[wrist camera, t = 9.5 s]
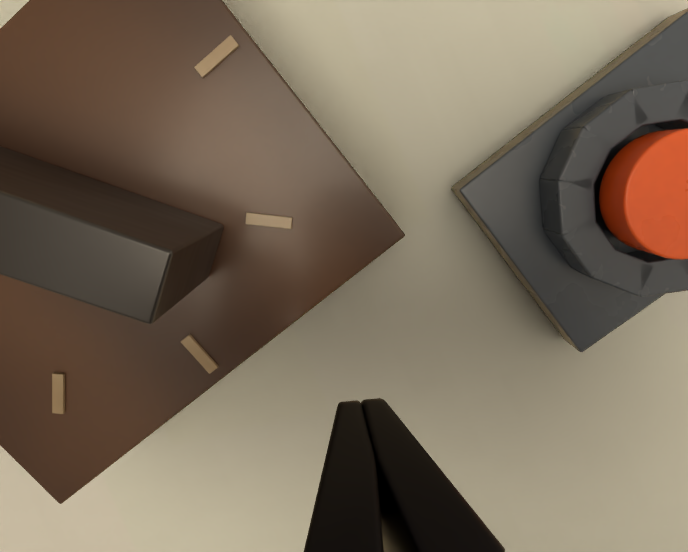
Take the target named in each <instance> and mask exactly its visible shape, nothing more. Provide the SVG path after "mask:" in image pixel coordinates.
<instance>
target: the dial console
mask: <svg viewBox="0 0 688 552" xmlns="http://www.w3.org/2000/svg"><path fill="white" fill-rule="evenodd" d="M0 146H1V147H4V148H7V149H10V150H12V151H15V152H18V153H21V154H24V155H27V156H29V157H32V158H35V159H38V160H41V161H44V162H47V163H49V164H52V165H55V166H58V167H61V168H64V169H66V170H69V171H72V172H75V173H78V174H81V175H84V176H86V177H89V178H92V179H95V180H98V181H101V182H104V183H106V184H109V185H112V186H115V187H118V188H121V189H123V190H126V191H129V192H132V193H135V194H138V195H141V196H143V197H146V198H149V199H152V200H155V201H158V202H160V203H163V204H166V205H169V206H172V207H175V208H178V209H180V210H183V211H186V212H189V213H192V214H195V215H197V216H200V217H203V218H206V219H209V220H212V221H215V222H217V223H220V224H222V225H223V226H224V229H223V232H222V235H221V239H220V242H219V245H218V248H217V251H216V255H215V258H214V261H213V264H212V268H211V271H210V274H209V277H208V278H207V279H206V280H205V281H203V282H202V283H201V284H200V285H199V286H197V287H196V288H195V289H194V290H192V291H191V292H190V293H189V294H188V295H186V296H185V297H184V298H183V299H182V300H180V301H179V302H178V303H177V304H176V305H174V306H173V307H172V308H171V309H169V310H168V311H167V312H166V313H165V314H163V315H162V316H161V317H160V318H159V319H157V320H156V321H155V322H154V323H153V324H147V323H144V322H141V321H138V320H135V319H132V318H129V317H126V316H123V315H120V314H117V313H114V312H111V311H108V310H105V309H102V308H99V307H96V306H93V305H90V304H87V303H84V302H81V301H78V300H75V299H72V298H69V297H66V296H63V295H60V294H58V293H55V292H52V291H49V290H46V289H43V288H40V287H37V286H34V285H31V284H28V283H25V282H22V281H19V280H16V279H13V278H10V277H7V276H4V275H1V274H0V445H1V446H2V447H3V448H4V449H5V450H6V451H7V452H8V453H9V454H10V455H11V456H12V457H13V458H14V459H15V460H16V461H17V462H18V463H19V464H20V465H21V466H22V467H23V468H24V469H25V470H26V471H27V472H28V473H29V474H30V475H31V476H32V477H33V478H34V479H35V480H36V481H37V482H38V483H39V484H40V485H41V486H42V487H43V488H44V489H45V490H46V491H47V492H48V493H49V494H50V495H51V496H52V497H53V498H54V499H55V500H56V501H57V502H59V503H60V504H61V503H63V502H64V501H65V500H67V499H68V498H69V497H71V496H72V495H73V494H74V493H76V492H77V491H78V490H80V489H81V488H82V487H83V486H85V485H86V484H87V483H89V482H90V481H91V480H92V479H94V478H95V477H96V476H98V475H99V474H100V473H101V472H103V471H104V470H105V469H106V468H108V467H109V466H110V465H112V464H113V463H114V462H115V461H117V460H118V459H119V458H121V457H122V456H123V455H124V454H126V453H127V452H128V451H130V450H131V449H132V448H133V447H135V446H136V445H137V444H139V443H140V442H141V441H142V440H144V439H145V438H146V437H148V436H149V435H150V434H151V433H153V432H154V431H155V430H157V429H158V428H159V427H160V426H162V425H163V424H164V423H166V422H167V421H168V420H169V419H171V418H172V417H173V416H174V415H176V414H177V413H178V412H180V411H181V410H182V409H183V408H185V407H186V406H187V405H189V404H190V403H191V402H192V401H194V400H195V399H196V398H198V397H199V396H200V395H201V394H203V393H204V392H205V391H207V390H208V389H209V388H210V387H212V386H213V385H214V384H216V383H217V382H218V381H219V380H221V379H222V378H223V377H225V376H226V375H227V374H228V373H230V372H231V371H232V370H233V369H235V368H236V367H237V366H239V365H240V364H241V363H242V362H244V361H245V360H246V359H248V358H249V357H250V356H251V355H253V354H254V353H255V352H257V351H258V350H259V349H260V348H262V347H263V346H264V345H266V344H267V343H268V342H269V341H271V340H272V339H273V338H275V337H276V336H277V335H278V334H280V333H281V332H282V331H284V330H285V329H286V328H287V327H289V326H290V325H291V324H292V323H294V322H295V321H296V320H298V319H299V318H300V317H301V316H303V315H304V314H305V313H307V312H308V311H309V310H310V309H312V308H313V307H314V306H316V305H317V304H318V303H319V302H321V301H322V300H323V299H325V298H326V297H327V296H328V295H330V294H331V293H332V292H334V291H335V290H336V289H337V288H339V287H340V286H341V285H343V284H344V283H345V282H346V281H348V280H349V279H350V278H352V277H353V276H354V275H355V274H357V273H358V272H359V271H360V270H362V269H363V268H364V267H366V266H367V265H368V264H369V263H371V262H372V261H373V260H375V259H376V258H377V257H378V256H380V255H381V254H382V253H384V252H385V251H386V250H387V249H389V248H390V247H391V246H393V245H394V244H395V243H396V242H398V241H399V240H400V239H402V238H403V237H404V236H405V234H404V233H403V231H402V230H401V229H400V227H399V226H398V225H397V224H396V222H395V221H394V220H393V218H392V217H391V216H390V215H389V213H388V212H387V211H386V209H385V208H384V207H383V206H382V204H381V203H380V202H379V201H378V199H377V198H376V197H375V195H374V194H373V193H372V192H371V190H370V189H369V188H368V186H367V185H366V184H365V183H364V181H363V180H362V179H361V177H360V176H359V175H358V174H357V172H356V171H355V170H354V169H353V167H352V166H351V165H350V163H349V162H348V161H347V160H346V158H345V157H344V156H343V154H342V153H341V152H340V151H339V149H338V148H337V147H336V146H335V144H334V143H333V142H332V140H331V139H330V138H329V137H328V135H327V134H326V133H325V131H324V130H323V129H322V128H321V126H320V125H319V124H318V123H317V121H316V120H315V119H314V117H313V116H312V115H311V114H310V112H309V111H308V110H307V108H306V107H305V106H304V105H303V103H302V102H301V101H300V99H299V98H298V97H297V96H296V94H295V93H294V92H293V91H292V89H291V88H290V87H289V85H288V84H287V83H286V82H285V80H284V79H283V78H282V76H281V75H280V74H279V73H278V71H277V70H276V69H275V68H274V66H273V65H272V64H271V62H270V61H269V60H268V59H267V57H266V56H265V55H264V53H263V52H262V51H261V50H260V48H259V47H258V46H257V44H256V43H255V42H254V41H253V39H252V38H251V37H250V36H249V34H248V33H247V32H246V30H245V29H244V28H243V27H242V25H241V24H240V23H239V21H238V20H237V19H236V18H235V16H234V15H233V14H232V13H231V11H230V10H229V9H228V7H227V6H226V5H225V4H224V2H223V1H222V0H30V1H29V2H27V3H26V4H25V5H24V6H23V7H22V8H21V9H20V10H19V11H18V12H17V13H16V14H15V15H14V16H13V17H12V18H11V19H10V20H9V21H8V22H7V23H6V24H5V25H4V26H3V27H2V28H1V29H0Z"/></svg>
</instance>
